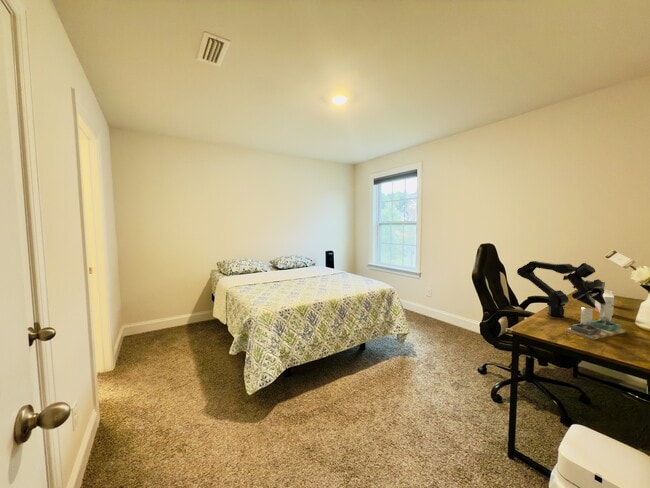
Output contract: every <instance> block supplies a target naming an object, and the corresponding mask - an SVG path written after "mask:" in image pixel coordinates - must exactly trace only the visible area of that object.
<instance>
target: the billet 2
mask: <svg viewBox="0 0 650 488" xmlns="http://www.w3.org/2000/svg"><path fill="white" fill-rule="evenodd" d="M612 318H613V317H612V305H610V304H601V308H600V313H599V320H600V321H599V323H601V324H604V325H608V326H611V322H612Z"/></svg>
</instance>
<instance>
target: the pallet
mask: <svg viewBox="0 0 650 488" xmlns="http://www.w3.org/2000/svg"><path fill="white" fill-rule="evenodd" d="M599 321H600V319H596V320H592V329H591V330H588V329H585V328H581V327H580V323H574V324H570V327H567V328H565V330H564V331H565V332H568V333H570V334H573V335H576V336H580V337H583V338H585V339H589V340H591V341H593V340H597V339H602V338H607V337H611V336H616V335H621V334H625V333H626V329H623V328H621V324H619V323H615V322H612V321H611V326H608V325H604V324H601V323H599Z"/></svg>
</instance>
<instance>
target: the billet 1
mask: <svg viewBox="0 0 650 488" xmlns="http://www.w3.org/2000/svg"><path fill="white" fill-rule="evenodd" d="M593 312H594V308H593V307H590V306H589V307H588V306H581V308H580V319H579V320H580V327H581V328H585V329H588V330H591V329H592V321H593Z"/></svg>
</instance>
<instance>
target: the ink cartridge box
mask: <svg viewBox="0 0 650 488" xmlns="http://www.w3.org/2000/svg"><path fill="white" fill-rule="evenodd" d="M604 290H605V291H604V294H603V298H604V300H605V302H606V304H610V305H612V316H614V310H615V309H614V308H615V306H614V305H615V292H614V291H611V290H609V289H605V288H604ZM594 305H595V306H596V307H595V308H594V312H597V313H599V314H600V308H601V304H600V303H599V302H597V301H596V300H595V304H594Z"/></svg>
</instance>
